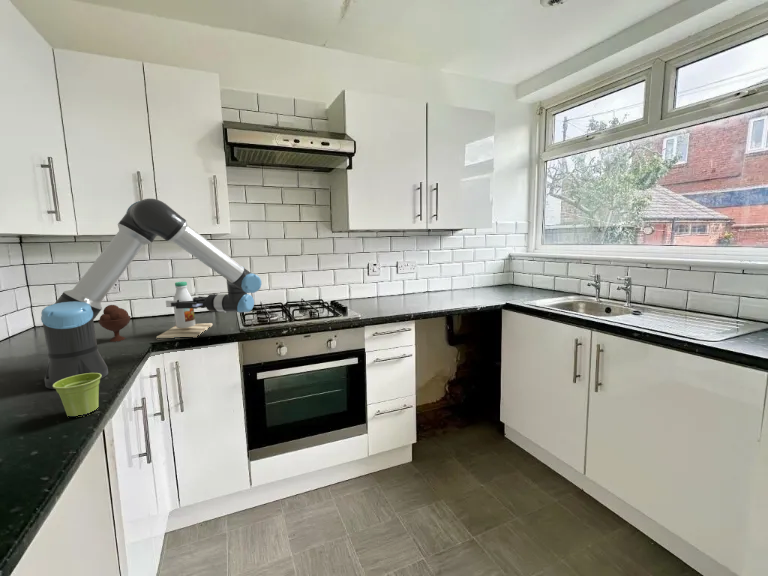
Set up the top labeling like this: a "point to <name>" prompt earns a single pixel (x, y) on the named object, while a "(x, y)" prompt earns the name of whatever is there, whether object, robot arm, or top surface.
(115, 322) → the ice cream bowl
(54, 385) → the plant pot
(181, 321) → the milk bottle
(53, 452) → the top surface
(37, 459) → the top surface
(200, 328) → the birch board
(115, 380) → the top surface
